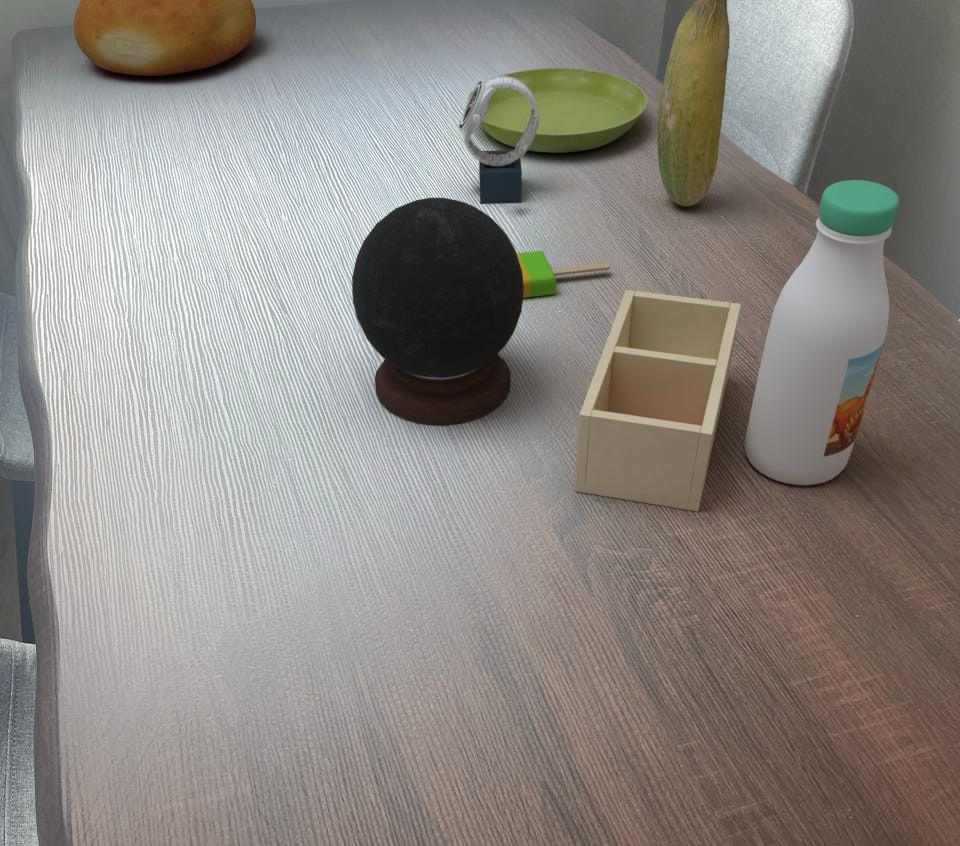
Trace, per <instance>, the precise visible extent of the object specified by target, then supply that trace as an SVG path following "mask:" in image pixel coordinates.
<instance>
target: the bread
mask: <svg viewBox="0 0 960 846" xmlns="http://www.w3.org/2000/svg"><path fill="white" fill-rule="evenodd" d="M256 27H257V14H256V9H255V5H254V3H253V1H252V0H80V1H79V3H78V5H77V7H76V10H75V13H74V18H73V35H74V36H73V37H74V40H76V44H77V46H78V47H79V49H80V51H81V52H82V53H83V55H84V56H85V57H86V58H87V59H88V60H89V61H90V62H91V63H93V64H94V65H95V66H97V67H99V68H100V69H103V70H106V71H109V72H110V73H111V72H112V73H118V74H124V75H130V76H142V77H157V76H161V77H162V76H169V75H177V74H183V73H188V72H192V71H199V70H203V69H207V68H211V67H214V66H216V65H219V64H222V63H224V62H226V61H228V60H229V59H232V58H234V57H235V56H237V55H238V54H239V53H241V52H242V51H243V50H245V48H246V47H247V46H249V44H250V43H251V42H252V40H253V37H254V35H255V31H256Z"/></svg>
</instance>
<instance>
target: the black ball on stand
mask: <svg viewBox="0 0 960 846" xmlns="http://www.w3.org/2000/svg"><path fill="white" fill-rule="evenodd" d="M516 253H517V251H516V248H515V247H514V245H513V243H512V241H511V240H510V238H509V236H508V234H507V233H506V232H505V231H504V229H502V227H501V226H500V225H499V224H498V223H497V222H496V221H495V220H494V218H492V217H491V216H489V215H488V214H487V213H486V212H483V211H482V210H481V209H479V208H477V207H476V206H474V205H472V204H469V203H467V202H465V201H461V200H456V199H452V198H448V197H447V198H446V197H426V198H420V199H415V200H413V201H410V202H407V203H404V204H403V205H400V206H398V207H396V208H394V209H393V210H392V211H390V212H389V213H388V214H387V215H385V216H384V217H382V219H380V220H379V221H378V222H377V223H376V224H375V225H374V226H373V227H372V228H371V230H370V232H369V233H368V234H367V235H366V237H365V238H364V240H363V242H362V243H361V246H360V248H359V251H358V253H357V255H356V259H355V262H354V267H353V272H352V277H351V294H352V304H353V307H354V312H355V318H356V319H357V322H358V324H359V326H360V328H361V330H362V332H363V334H364V337H365V338H366V340H367V342H368V343H369V344H370V345H371V347H372V348H373V349H374V351H376V353H378V355H379V356H381V357H382V359H384V360H383V361H382V363H380V365H379V367H378V368H377V370H376V372H375V377H374V387H375V396H376V397H377V400H378V402H379V403H380V404H381V405H382V406H383V408H385V410H386V411H388V412H390V413H391V414H393V415H394V416H396V417H398V418H401V419H403V420H404V421H408V422H412V423H414V424H415V423H416V424H421V425H428V426H449V425H459V424H463V423H468V422H472V421H475V420H477V419H481V418H483V417H485V416H487V415H488V414H491V413H492V412H494V411H495V410H496V409H498V408H499V407H500V406H501V405H502V404H503V403H504V402H505V401H506V399H507V398H508V395H509V393H510V391H511V382H512V381H511V379H512V378H511V377H512V374H511V371H510V367H509V366H508V364H507V363H506V361H505V360H504V359H503V358H502V357H501V356H500V353H501V351H502V350H504V348H505V347H506V346H507V344H508V342H509V341H510V340H511V338H512V336H513V334H514V332H515V330H516V329H517V326H518V322H519V319H520V317H521V315H522V311H523V304H524V303H523V302H524V298H523V293H524V284H523V273H522V269H521V266H520V263H519V260H518V256H517V254H516Z"/></svg>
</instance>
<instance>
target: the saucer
mask: <svg viewBox="0 0 960 846" xmlns="http://www.w3.org/2000/svg"><path fill="white" fill-rule="evenodd" d="M499 76H500V78H501V76H509V77H513V78H516V79H518V80H520V81H521V82H523V83H524V84H525V85H526V86H527V87H528V88H529V89H530V91H531V92H532V94H533V96H534V98H535V101H536V105H537V112H538V118H539V124H538V128H537V131H536V134H535V137H534V139H533V141H532V143H531V145H530V147H529V148H528V150H527V152H528V151H529V152H536V153H548V154H549V153H550V154H552V153H553V154H563V153H565V154H566V153H575V152H584V151H588V150H593V149H597V148H600V147H603V146H605V145H608V144H610V143H612V142H614V141H615V140H617V139H619V138H620V137H622V136H623V135H625V133H626V132H628V131H629V130H630V129H631V128H632V127H633V126H634V125H635V124H636V123H637V121H638V120H639V119H640V118H641V116H642V115H643V113H644V111H645V110H646V108H647V106H648V96H647V93H646V92H645V91H644V90H643V89H642V87H640V85H638V84H636V83H634V82H633V81H631V80H629V79H626V78H624V77H621V76H618V75H615V74H612V73H607V72H603V71H598V70H592V69H584V68H575V67H573V68H572V67H571V68H570V67H545V68H532V69H524V70H518V71H512V72H509V73H505V74H501V75H499ZM503 82H504V81H503ZM472 92H473V90H472V91H470V93H469V94H468V97H467V102H468V99H469V97H470V95H471V94H472ZM467 102H466V103H467ZM532 109H533V107H532V105H531V102H530V101H529V100H528V99H527V98H526V96H525V95H523V94H522V93H520V92H519V90H514V89H511V88H502V87H500V88H496V91H495V93H494V94H493V96H492V99H491V102H490V105H489V108H488V110H487V112H486V115H485V117H484V119H483V121H482V122H481V124H480V126H479V127H481V129H483V130H484V131H485V132H486V133H487V135H489V136H491V137H492V138H493V139H495V140H496V141H498V142H500V143H502V144H504V145H507V146H509V147H512V148H514V149H515V148H516V145H517V143H518V141H519V140H520V138H521V137H522V135H523V133H524V132H525V129H526V127H527V125H528V122H529V119H530V116H531V110H532Z"/></svg>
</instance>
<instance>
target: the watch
mask: <svg viewBox="0 0 960 846" xmlns="http://www.w3.org/2000/svg"><path fill="white" fill-rule="evenodd" d="M500 76H501V75H495V76H490V77H488V78H487V79H486V80H484V81H483V80H480V81H478V82H477V84H476V85H475V87H474V88H473V89H472V91H473V92H472V91H471V92H472V94H471V95H470V97H469V96H468V97H469V99H468V98H467V100H468V102H466V104H465V107H464V108H463V111H462V114H461V117H460V121H459V126H458V128H459V130H460V131H463V142H464V145H465V146H466V148H467V150H468V152H469V153H470V155H472V157H473V158H474V159H476V161H478V184H479V185H478V186H479V187H478V188H479V203H480V204H511V203H512V204H513V203H514V204H515V203H522V188H523V187H522V185H523V184H522V183H523V182H522V181H523V180H522V179H523V171H522V170H523V169H522V158H523V157H524V156H525V155H526V153H527V152H528V148H529V147H530V145H531V143H532V141H533V139H534V137H535V134H536V131H537V128H538V124H539V118H538V112H537V105H536V101H535V98H534V96H533V94H532V92H531V91H530V89H529V88H528V87H527V86H526V85H525V84H524V83H523V82H521V81H520V80H518V79H516V78H513V77H509V76H501V78H500ZM503 81H504V82H503ZM500 87H502V88H511V89H514V90H519V92H520V93H522V94H523V95H525V96H526V98H527V99H528V100H529V101H530V102H531V105H532V107H533V109H532V110H531V116H530V119H529V122H528V125H527V127H526V129H525V132H524V133H523V135H522V137H521V138H520V140H519V141H518V143H517V145H516V148H515V147H514V149H501V150H498V149H497V150H481V148H479V147H478V146H477V145H475V143H474V142H473V140H472V139H471V135H472V134H474V133H475V132H476V131H477V130H478V129H479V128H480V127H481V126H480V124H481V122H482V121H483V119H484V117H485V115H486V112H487V110H488V108H489V105H490V102H491V99H492V96H493V94H494V93H495V91H496V88H500Z"/></svg>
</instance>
